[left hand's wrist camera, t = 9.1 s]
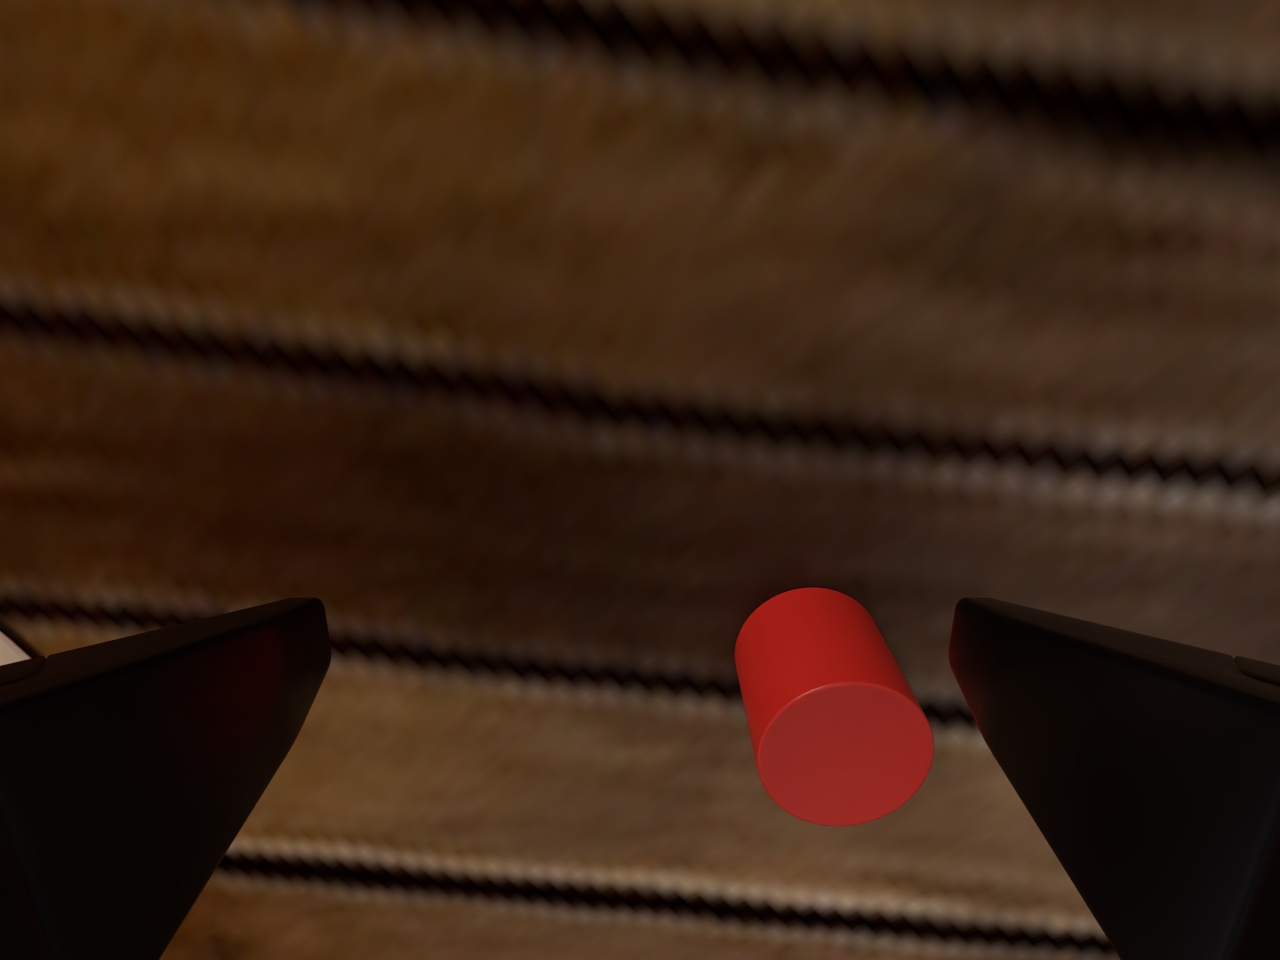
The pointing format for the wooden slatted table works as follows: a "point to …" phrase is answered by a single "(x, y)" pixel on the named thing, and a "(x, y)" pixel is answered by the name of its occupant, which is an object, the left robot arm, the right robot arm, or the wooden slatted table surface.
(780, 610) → the red cylinder
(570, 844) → the wooden slatted table surface
